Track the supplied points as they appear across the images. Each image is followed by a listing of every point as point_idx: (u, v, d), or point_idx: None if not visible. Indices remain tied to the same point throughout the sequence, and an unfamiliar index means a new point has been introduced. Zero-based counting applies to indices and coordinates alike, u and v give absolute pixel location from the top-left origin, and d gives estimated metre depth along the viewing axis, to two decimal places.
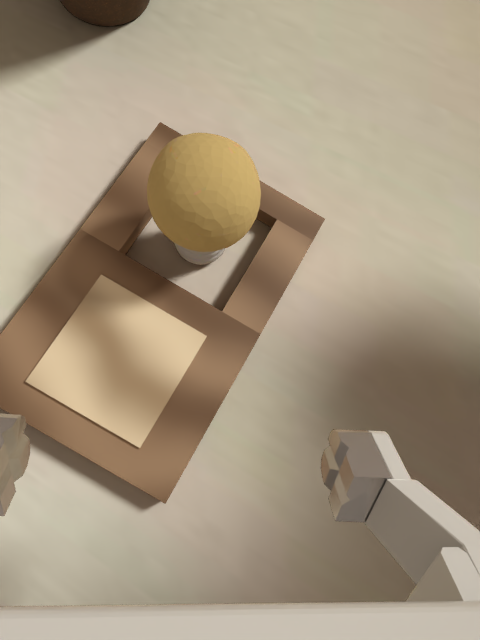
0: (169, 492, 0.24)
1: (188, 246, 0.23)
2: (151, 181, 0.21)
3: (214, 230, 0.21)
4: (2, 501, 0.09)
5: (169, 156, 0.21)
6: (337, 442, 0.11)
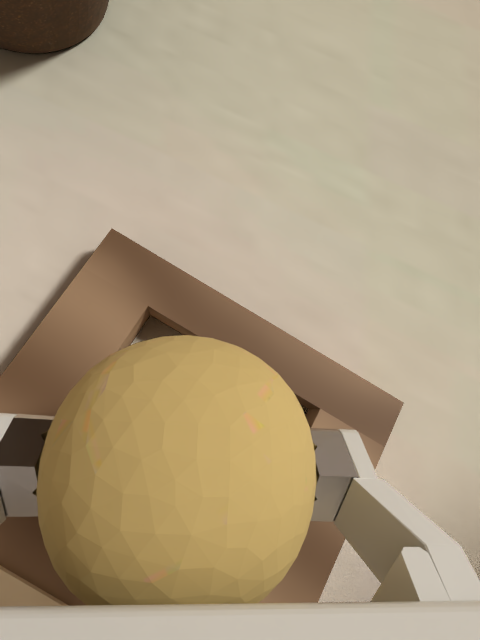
0: None
1: None
2: (39, 489, 0.08)
3: None
4: None
5: (81, 447, 0.07)
6: None
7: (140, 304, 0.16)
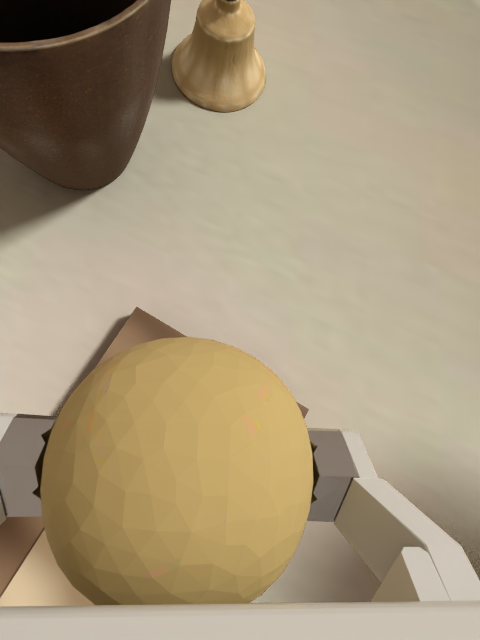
0: None
1: None
2: (43, 487, 0.08)
3: None
4: None
5: (84, 447, 0.08)
6: None
7: None
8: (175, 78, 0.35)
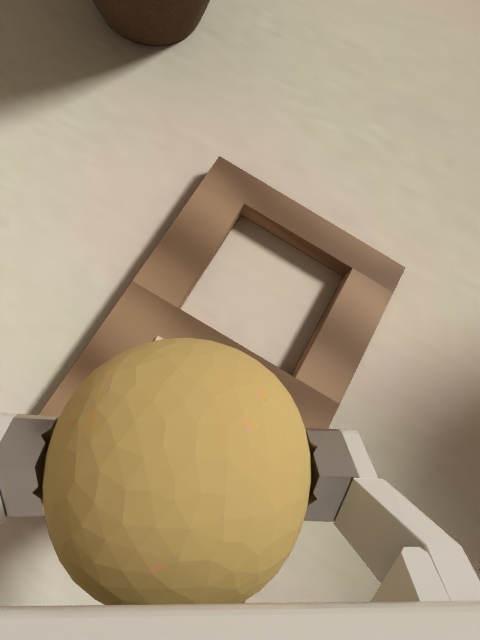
0: None
1: None
2: (45, 484, 0.08)
3: None
4: (42, 502, 0.09)
5: (86, 445, 0.08)
6: None
7: (239, 202, 0.26)
8: None
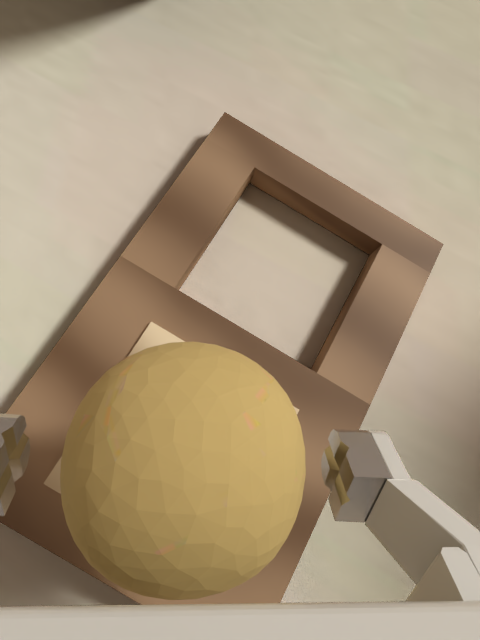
0: None
1: None
2: (63, 475, 0.09)
3: (204, 596, 0.09)
4: (2, 501, 0.09)
5: (102, 439, 0.09)
6: (337, 442, 0.11)
7: (249, 165, 0.22)
8: None
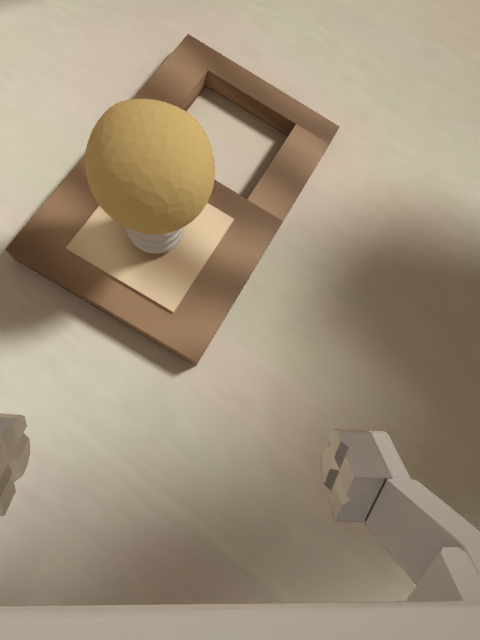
0: (201, 353, 0.26)
1: (130, 225, 0.20)
2: (88, 149, 0.19)
3: (157, 206, 0.19)
4: (2, 501, 0.09)
5: (107, 120, 0.18)
6: (337, 442, 0.11)
7: (204, 69, 0.31)
8: None
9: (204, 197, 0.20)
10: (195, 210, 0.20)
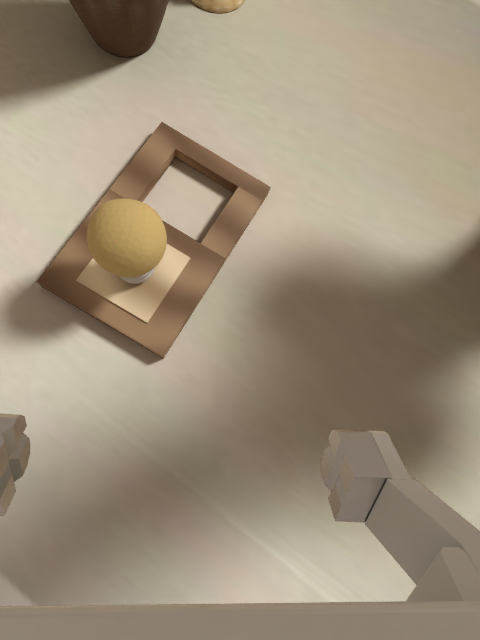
0: (165, 350, 0.39)
1: (114, 273, 0.33)
2: (88, 230, 0.32)
3: (128, 264, 0.32)
4: (2, 501, 0.09)
5: (99, 215, 0.31)
6: (337, 442, 0.11)
7: (172, 148, 0.44)
8: None
9: (158, 256, 0.33)
10: (153, 264, 0.33)
